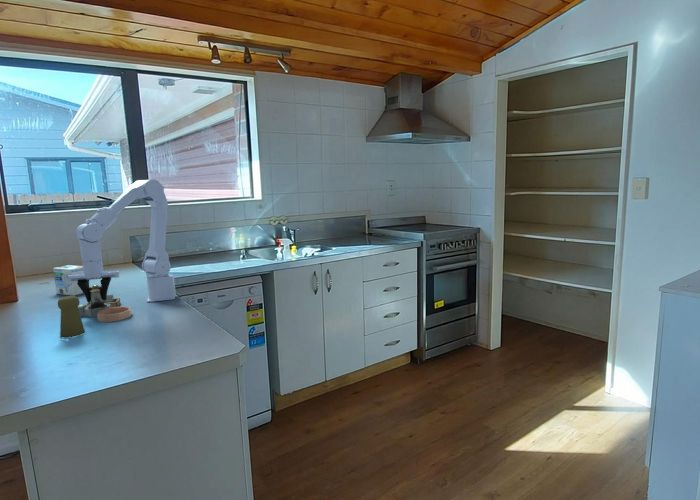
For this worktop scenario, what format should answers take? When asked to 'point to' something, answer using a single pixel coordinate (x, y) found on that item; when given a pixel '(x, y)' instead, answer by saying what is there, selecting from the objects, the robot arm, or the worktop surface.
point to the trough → (113, 304)
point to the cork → (70, 317)
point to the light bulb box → (62, 280)
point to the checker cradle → (91, 310)
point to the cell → (96, 296)
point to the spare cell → (109, 299)
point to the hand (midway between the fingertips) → (97, 300)
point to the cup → (114, 314)
